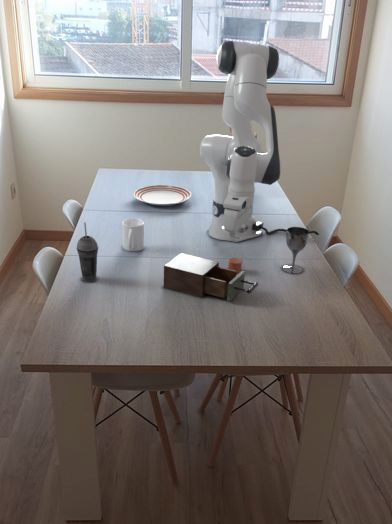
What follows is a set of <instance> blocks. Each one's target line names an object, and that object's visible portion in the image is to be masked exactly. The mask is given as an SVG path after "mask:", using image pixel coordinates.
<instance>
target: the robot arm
mask: <svg viewBox="0 0 392 524" xmlns="http://www.w3.org/2000/svg"><path fill="white" fill-rule="evenodd" d="M216 64H217V69H218V70H219V72H221V73H223V74H224V75H227V80H226V84H225V88H224V96H223V102H222V103H223V104H222V110H221V118H222V121H223V122H224V124H225V125H227V126H228V127H229V128H230V127H231V129H232V131H233V137H229V135H222V134H211V135H210V134H209V135H206V136H204V138H203V139H202V140H201V141H200V145H199V154H200V157H201V159H202V160H203V161H204V162H205V163H206V164H207V166H208V167H209V169H210V171H211V173H212V176H213V181H214V199H212V200H213V201H212V219H211V222H210V226H209V230H208V235H209V236H210V237H211V238H213V239H217V240H220V241H228V242H229V241H230V242H234V243H238V242H242V241H245V240H249V239H252V238H256V237H260V236H261V235H262V230H263V231H264V232H265V234H266V235H271V234H274V233H277V232H285V233H287V229H286V228H275V229H273V230H271V231H269V230H268V229H267V228H266V227H264V222H263V221H257V219H256V218H255V217H254V216H253V212H254V200H255V192H256V191H255V190H256V187H255V184H256V183H258V184H264V185H268V186H270V185H273V184H274V183H276V182H277V181H278V180H279V179H280V177H281V174H282V161H281V158H280V149H279V137H278V125H277V116H276V115H277V114H276V110H275V107H274V105H272V104H270V102H269V99H268V97H267V85H268V80H270V79H272V78H273V77H274V76H275V75H276V74H277V71H278V70H279V67H280V53H279V51H278V49H277V48H276V47H273V46H271V45H263V44H260V43H256V42H243V41H233V40H230V41H229V40H228V41H227V40H226V41H223V42H222V43H221V44H220V47H219V48H218V50H217V54H216ZM252 121H253V122H256V123H257V124H258V125H260V126H261V127H262V129H263V130H264V133H265V144H266V145H265V146H266V152H265V151H264V148H263V145H262V144H261V143H260V141H259V140H258V139H256V137H255V135H254V133H253V130H254V129H253V126H252V124H253V123H252ZM252 129H253V130H252ZM310 234H315V235H316V236H319V235H320V233H319V232H318V231H316V230H309V235H310Z"/></svg>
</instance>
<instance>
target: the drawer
mask: <svg viewBox="0 0 392 524" xmlns="http://www.w3.org/2000/svg"><path fill="white" fill-rule="evenodd" d="M245 275H246V271H244V270H242V271H241V272H240V273H239V274H237V271H234V270H230V269H228V268H226V267H221V266H219V267H218V266H216V267H215V268H214V269H213V270H211V271H210V272H209V273H208V274H207V275H206V276H204V286H203V293H206V294H205V295H210V296H215V297H218V298H223V299H225V298H226V301H227V302H231V301H232V300H233V299H234V298H235V297H237V296H238V295H239V294H240V292H241V291H242V292H245V293H247V294H248V295H251V293H252V292H253V291H254V290H255V289H256V288H258V286H259V282H257V281H254V282H253V281H249V280H246V279H245ZM245 284H249V285H251V286H249V288H248V289H246V288H245V287H244V286H245Z"/></svg>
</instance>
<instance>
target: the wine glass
mask: <svg viewBox="0 0 392 524" xmlns="http://www.w3.org/2000/svg"><path fill="white" fill-rule="evenodd" d="M286 230H287V232H285V233H286V236H285V240H286V247H288V248H287V249H289V250H290V252H291V253H292V262H291V264H290V265H289V264H287V265H284V266H283V267H282V270H283V271H284V272H286V273H288V274H300V273H302V272H303V269H302V267H300V266H298V265H295V262H296V259H297V256H298V254H299V253H300V252H301V251H303V250H304V248H306V246H307V243H308V240H309V235H310V234H309V231H310V230H309V229H307V228H305V227H301V226H290V227H288V228H287V229H286Z"/></svg>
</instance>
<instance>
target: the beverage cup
mask: <svg viewBox="0 0 392 524" xmlns="http://www.w3.org/2000/svg"><path fill="white" fill-rule="evenodd" d="M83 226H84V227H83V228H84V235H83V236H82V237H80V238H79V239H78V241H77V243H76V251H77V255H78V259H79V265H80V271H81V277H82V281H84V282H87V283H93V282H95V281H96V279H97V271H98V270H97V268H98V267H97V266H98V254H99V253H98V252H99V245H98V243H97V240H96V239H95V237H93V236H90V235H88V232H87V222H83Z"/></svg>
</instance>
